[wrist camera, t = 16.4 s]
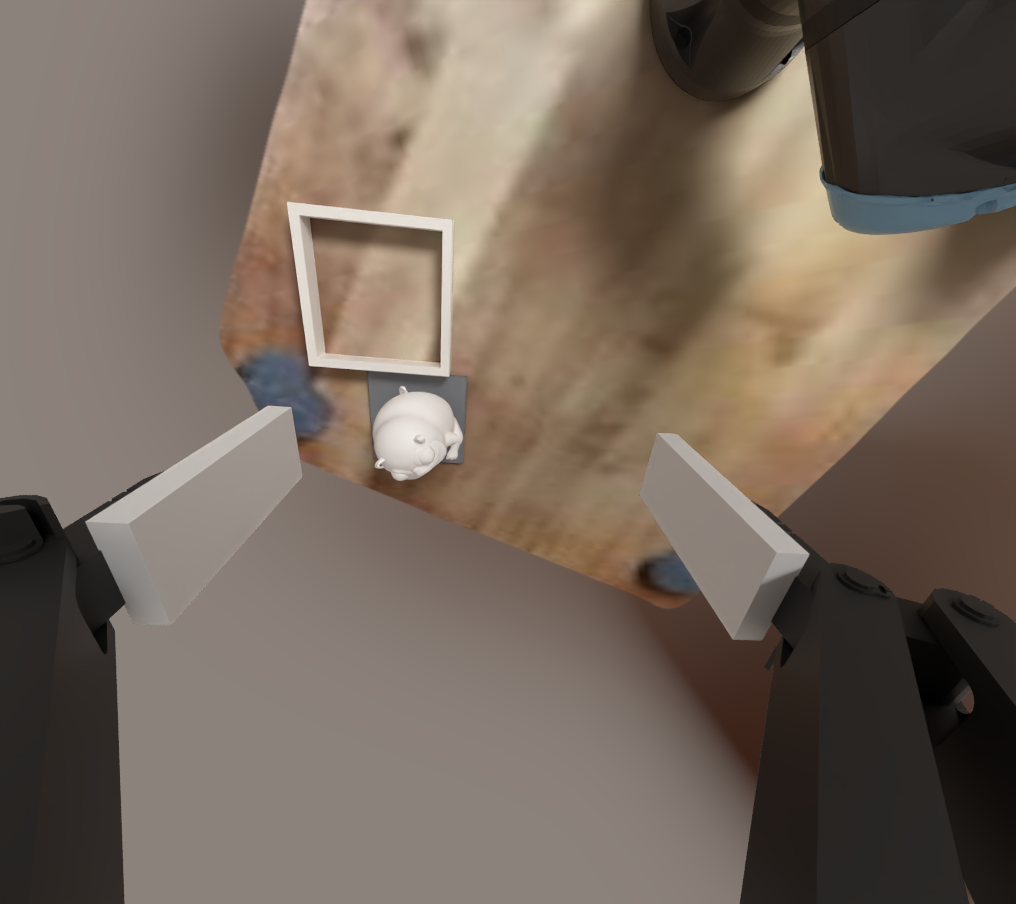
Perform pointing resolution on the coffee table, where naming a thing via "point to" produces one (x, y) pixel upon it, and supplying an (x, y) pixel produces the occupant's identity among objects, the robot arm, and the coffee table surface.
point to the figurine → (415, 434)
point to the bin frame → (310, 295)
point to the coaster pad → (448, 388)
